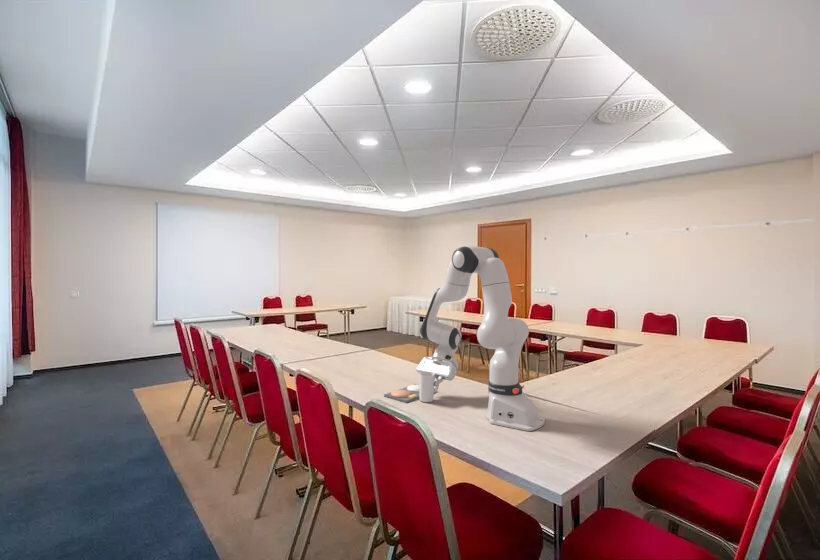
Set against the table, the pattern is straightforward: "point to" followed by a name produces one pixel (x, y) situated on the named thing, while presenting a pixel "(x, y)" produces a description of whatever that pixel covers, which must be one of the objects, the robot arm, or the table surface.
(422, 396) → the mug
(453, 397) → the table surface
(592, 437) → the table surface
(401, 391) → the grey food tray
